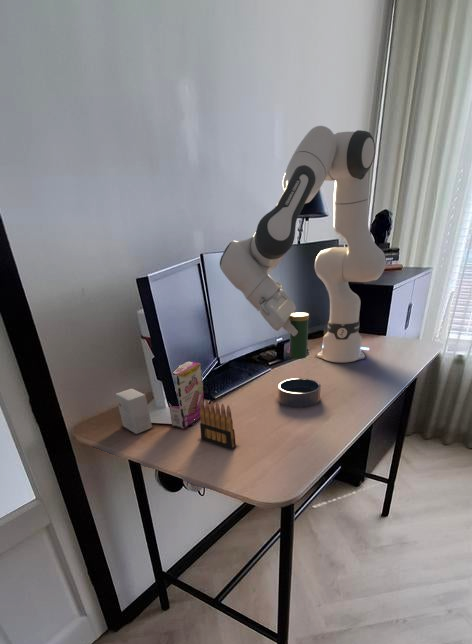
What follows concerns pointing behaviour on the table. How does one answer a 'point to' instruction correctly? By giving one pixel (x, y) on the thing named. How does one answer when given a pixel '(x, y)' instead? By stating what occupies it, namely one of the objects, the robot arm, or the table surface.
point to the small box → (134, 410)
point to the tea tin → (299, 335)
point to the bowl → (299, 392)
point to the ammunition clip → (217, 425)
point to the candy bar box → (187, 394)
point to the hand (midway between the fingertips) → (298, 331)
